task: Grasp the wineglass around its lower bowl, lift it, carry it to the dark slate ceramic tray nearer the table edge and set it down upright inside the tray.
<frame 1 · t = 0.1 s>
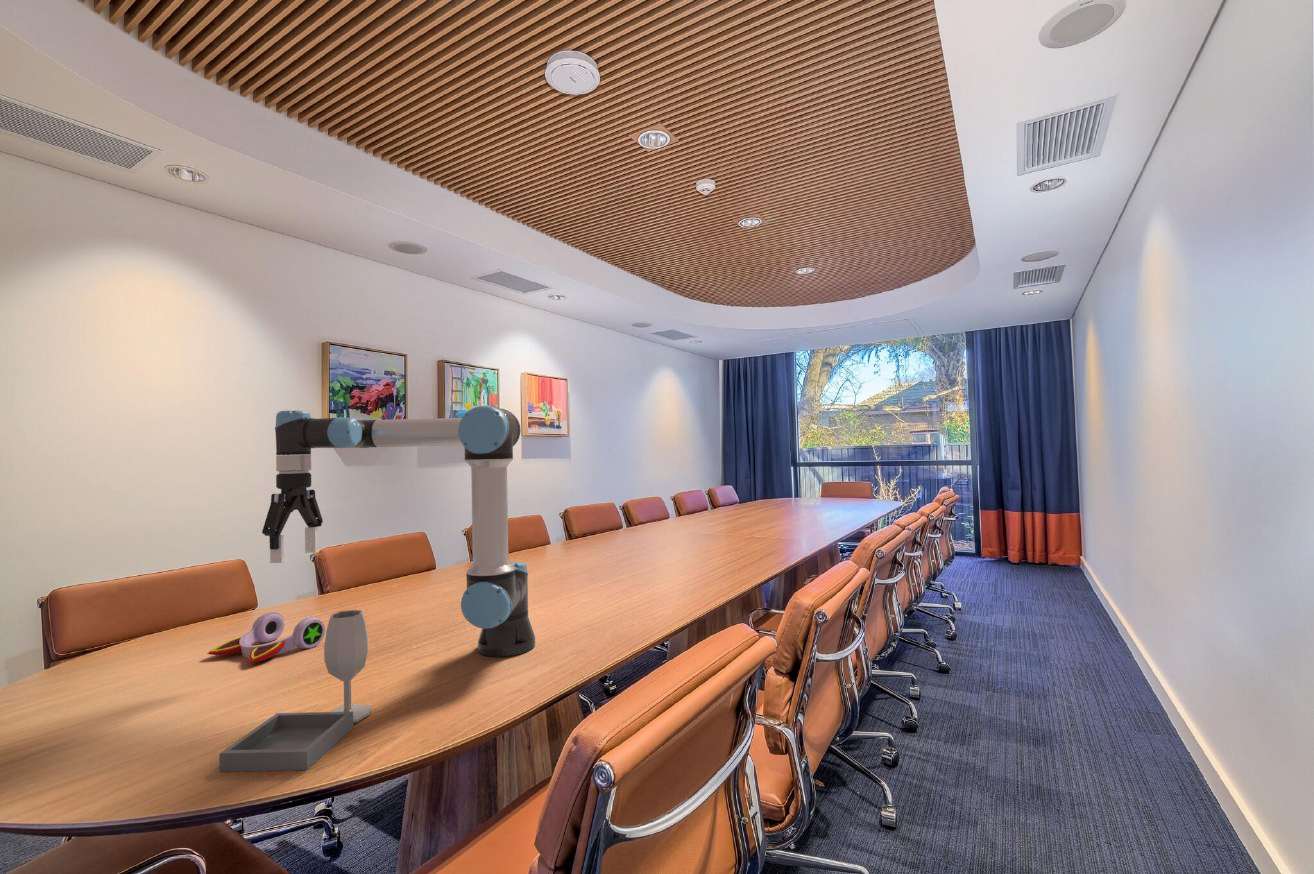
hand: (294, 557, 146), 28 cm above the table, fingers open, 13 cm apart
tray: (291, 748, 107), on the table
wineglass: (347, 718, 119), on the table
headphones: (267, 652, 160), on the table
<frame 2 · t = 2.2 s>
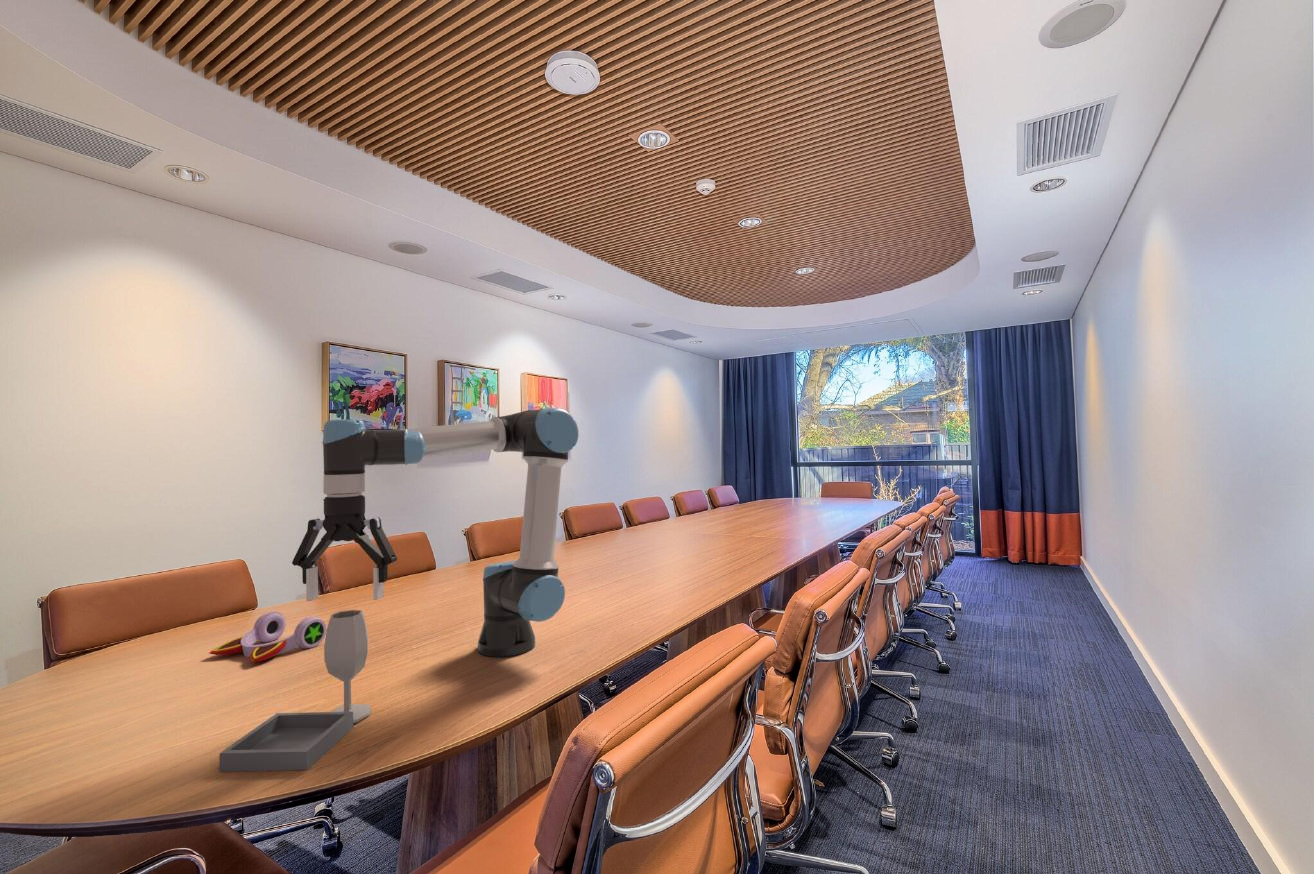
hand: (345, 599, 119), 24 cm above the table, fingers open, 13 cm apart
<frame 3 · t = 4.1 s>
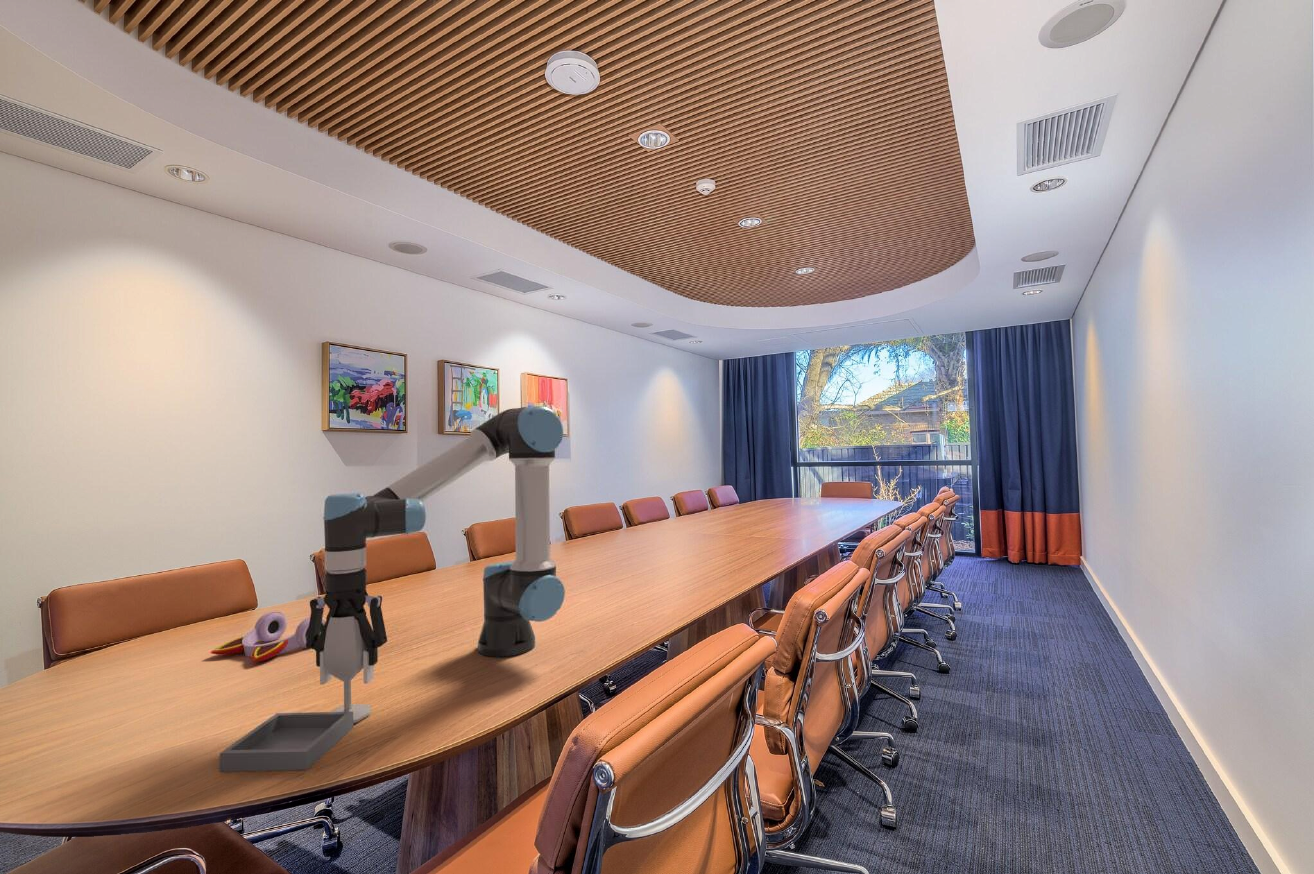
hand: (347, 681, 119), 7 cm above the table, fingers closed on wineglass, 8 cm apart
wineglass: (347, 718, 119), on the table, touching gripper
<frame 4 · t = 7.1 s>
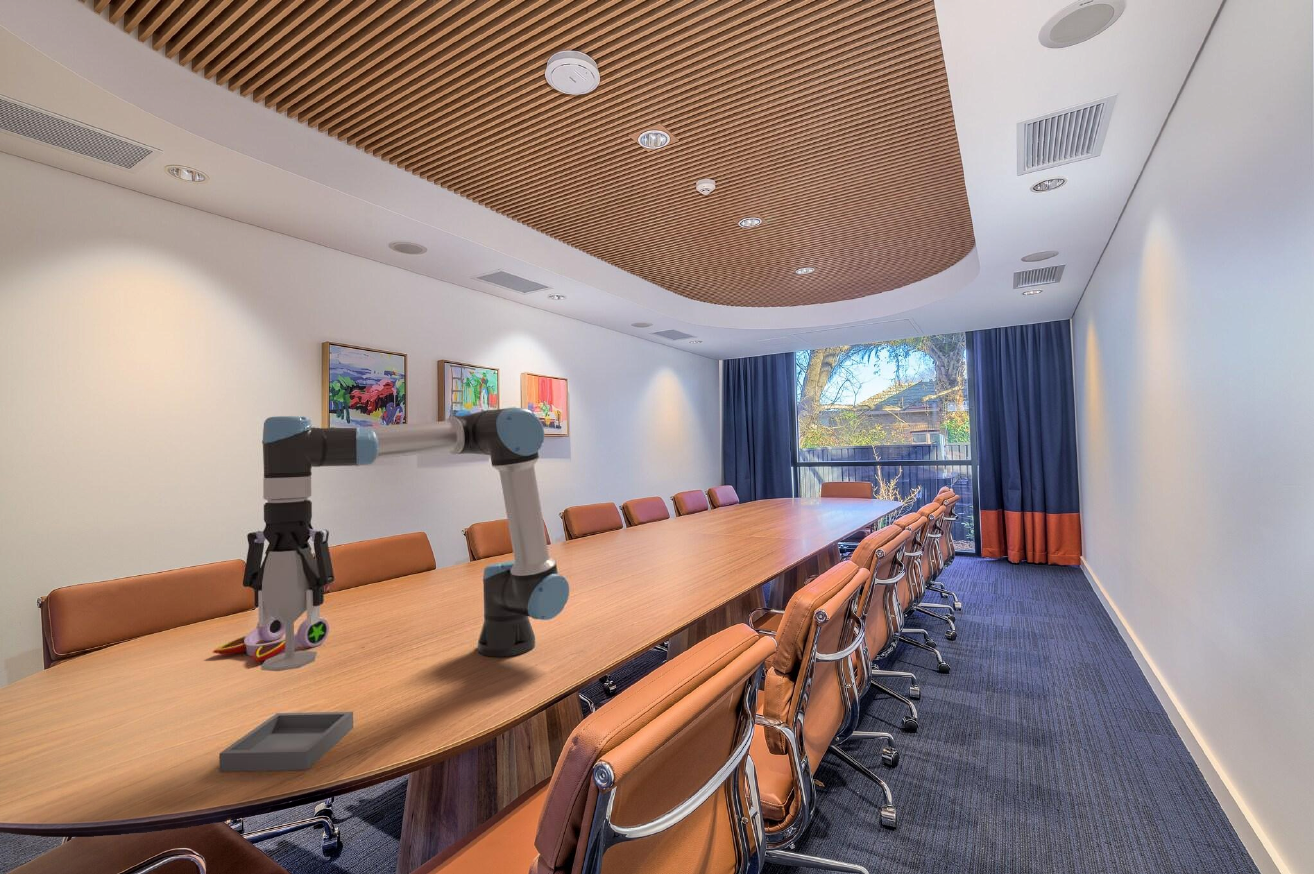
hand: (289, 623, 108), 23 cm above the table, fingers closed on wineglass, 8 cm apart
wineglass: (290, 664, 107), point 15 cm above the table, touching gripper
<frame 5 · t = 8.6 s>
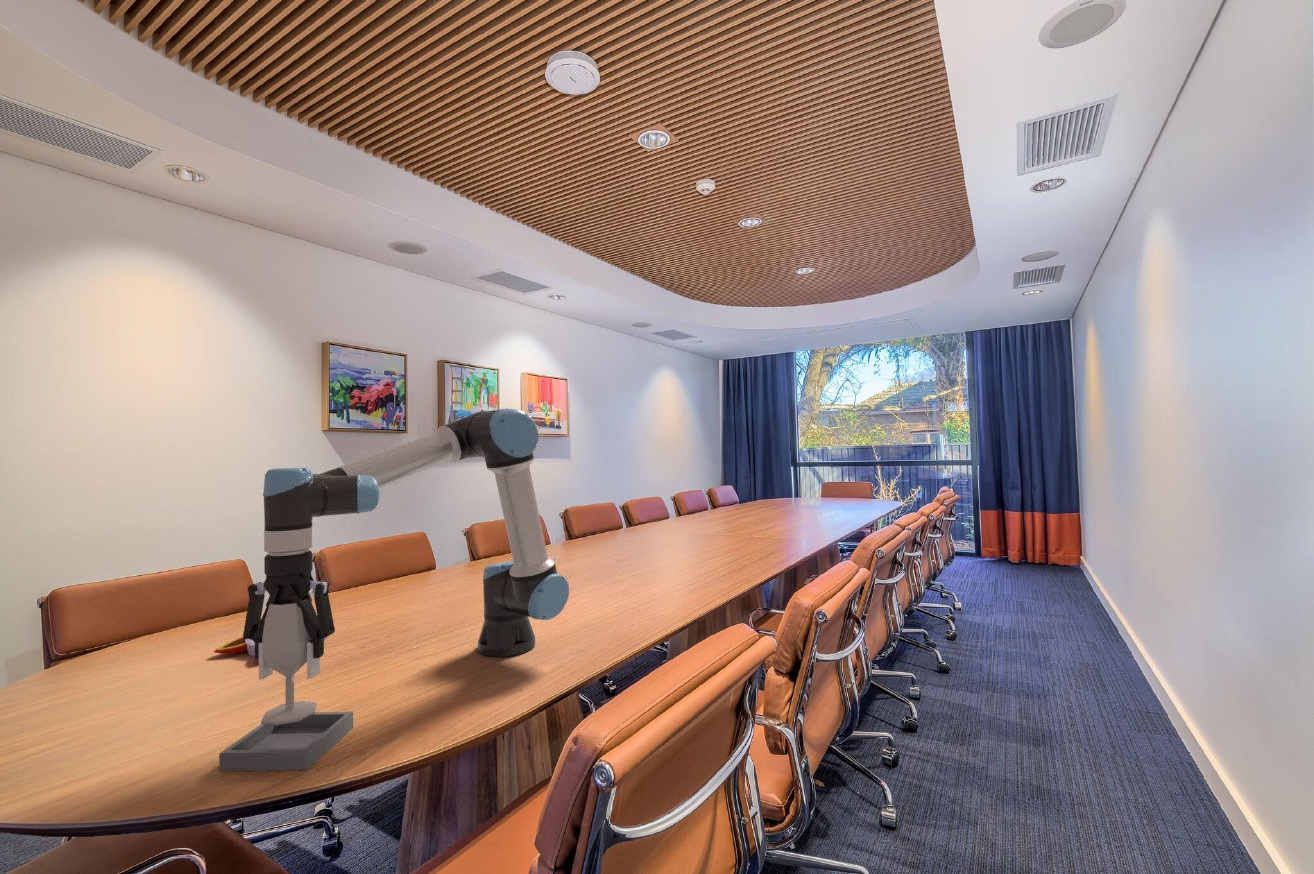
hand: (289, 675, 107), 13 cm above the table, fingers closed on wineglass, 8 cm apart
wineglass: (290, 716, 107), point 6 cm above the table, touching gripper
when the fingers open (9 cm above the table, at t = 9.9 s): wineglass drops 1 cm, resting on tray.
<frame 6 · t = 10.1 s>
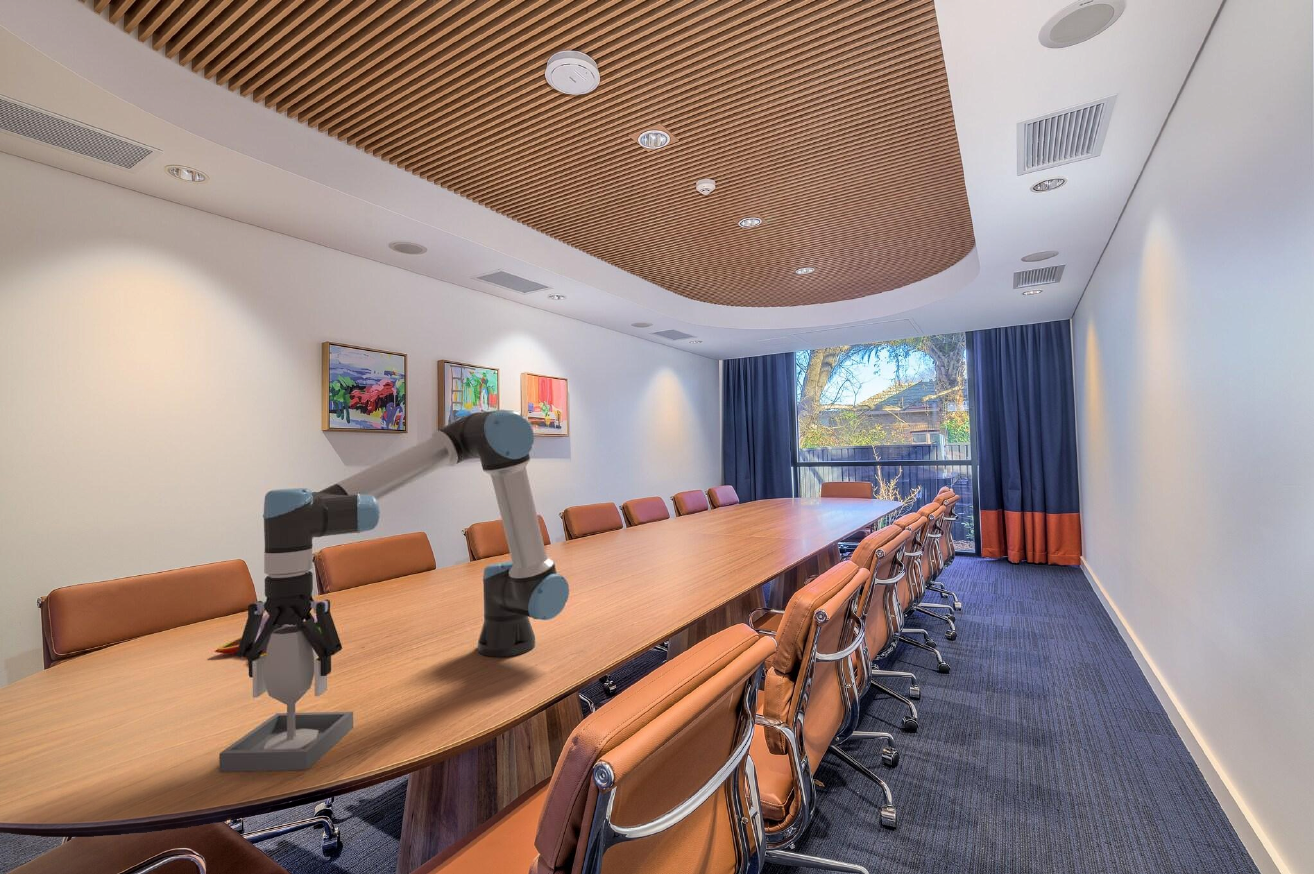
hand: (290, 693, 107), 10 cm above the table, fingers open, 10 cm apart
wineglass: (291, 745, 107), resting on tray
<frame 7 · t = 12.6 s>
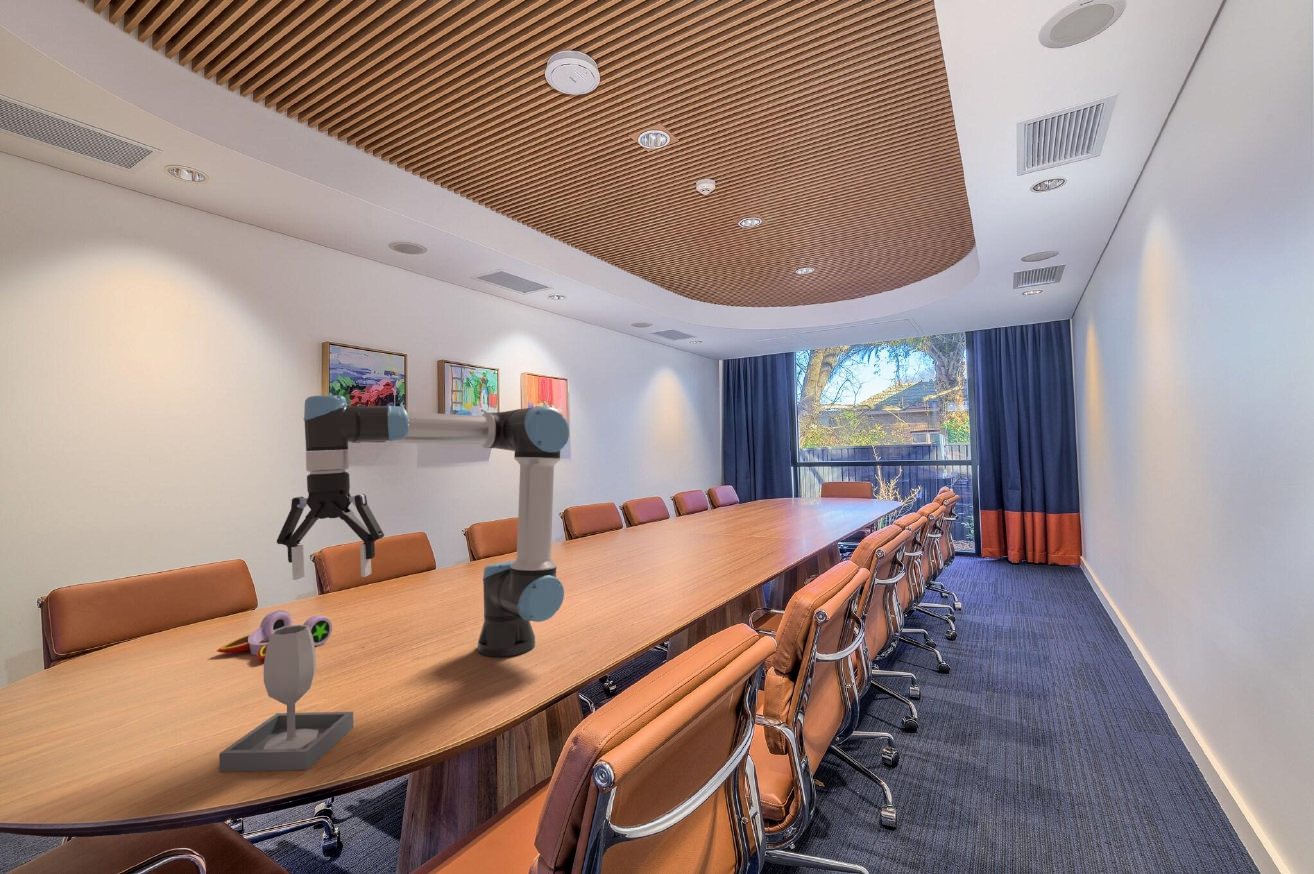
hand: (332, 576, 119), 29 cm above the table, fingers open, 13 cm apart
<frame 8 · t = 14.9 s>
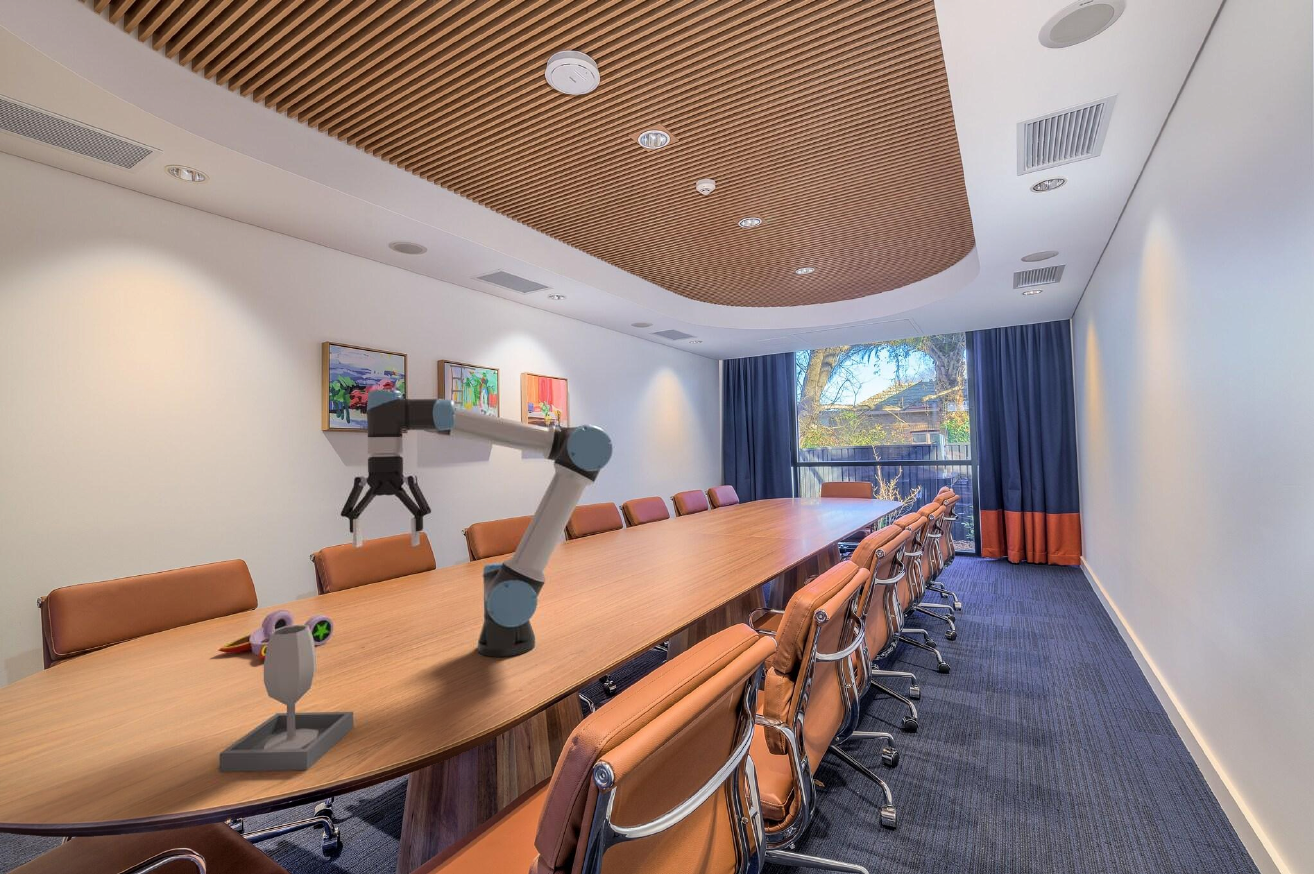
hand: (386, 546, 138), 32 cm above the table, fingers open, 13 cm apart
at the end: wineglass inside the target area on the tray (0.0 cm from its centre), point 0.4 cm above the tray's base; wineglass tilted 0°; the gripper is holding nothing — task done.
